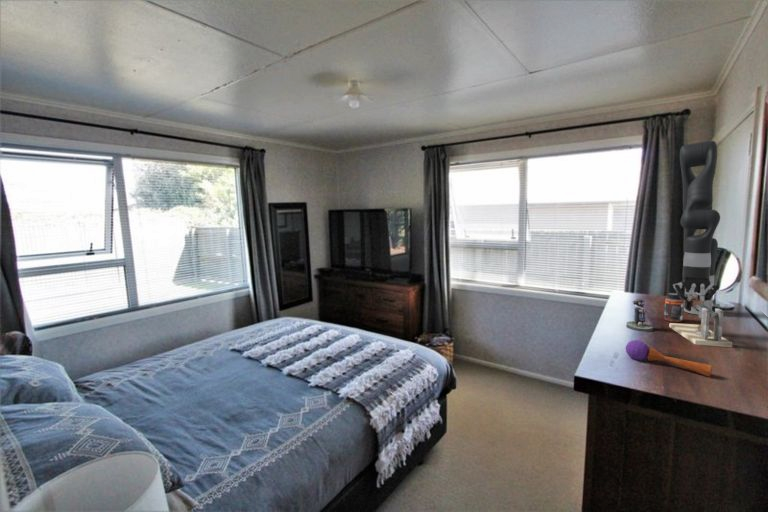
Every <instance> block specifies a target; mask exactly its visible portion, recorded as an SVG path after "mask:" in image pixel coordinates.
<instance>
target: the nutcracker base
mask: <svg viewBox="0 0 768 512" xmlns="http://www.w3.org/2000/svg"><path fill="white" fill-rule="evenodd" d="M714 312H715V313H718V317H714V323H713V331H712V330H711V329H710V318H711V317H710V310H708V309H706V308H702V319H700V320H701V322H700V324H690V323H677V322H670V323H669V326H668V327H669V328H670V329H672V330H673V331H674V332H676V333H678V334H679V335H681V336H682V337H683V338H685V339H686V340H687V341H689V342H691V343H692V344H694V345H698V346H713V347H724V348H725V347H727V348H733V342H732V341H731V340H728V339H727V338H725V337H723V336H722V334H723V322H724V310H722V309H720V308H714Z"/></svg>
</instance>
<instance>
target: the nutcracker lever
mask: <svg viewBox="0 0 768 512" xmlns="http://www.w3.org/2000/svg"><path fill="white" fill-rule="evenodd" d="M691 302H692V304H691V307H693V308H694V309H698V310H699V315H698V318H699V319H700V320H702V308H706V309H708V310H710V318H715V317H718V313H715V310H714V311H713V309H712V310H711V309H709V308H708V307H706V306H705V305H703V302H702V301H700V300H699V299H697V298H696V297H694V296H692V299H691Z"/></svg>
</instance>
